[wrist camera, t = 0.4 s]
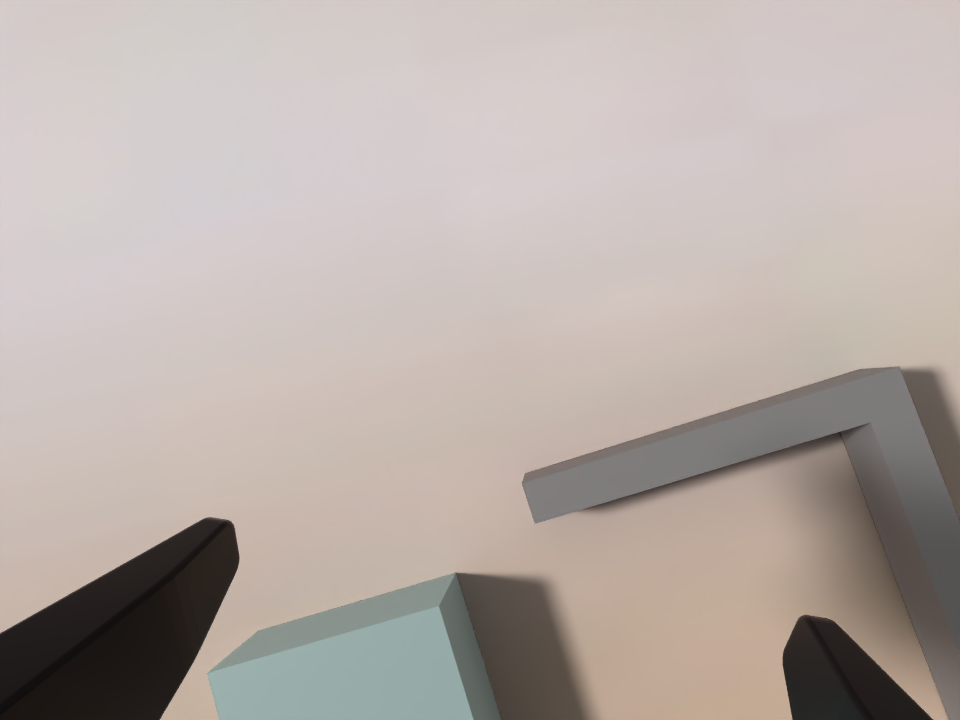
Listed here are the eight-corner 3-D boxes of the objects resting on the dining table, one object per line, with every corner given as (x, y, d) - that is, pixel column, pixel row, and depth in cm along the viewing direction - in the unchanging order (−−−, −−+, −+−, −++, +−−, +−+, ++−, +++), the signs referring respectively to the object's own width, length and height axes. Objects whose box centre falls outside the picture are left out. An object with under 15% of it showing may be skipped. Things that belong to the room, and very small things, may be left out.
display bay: (1033, 819, 21) (1099, 879, 18) (665, 902, 22) (679, 968, 19) (860, 369, 22) (899, 366, 20) (524, 473, 23) (521, 483, 21)
